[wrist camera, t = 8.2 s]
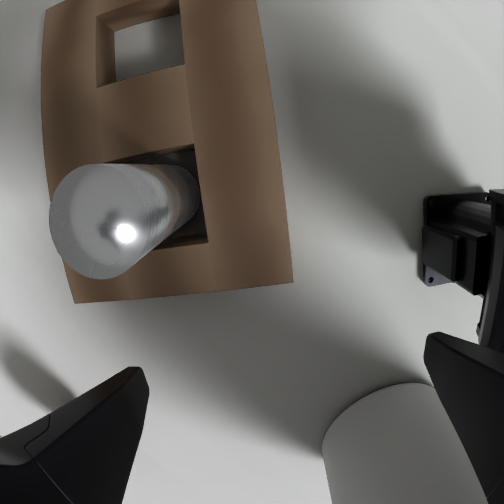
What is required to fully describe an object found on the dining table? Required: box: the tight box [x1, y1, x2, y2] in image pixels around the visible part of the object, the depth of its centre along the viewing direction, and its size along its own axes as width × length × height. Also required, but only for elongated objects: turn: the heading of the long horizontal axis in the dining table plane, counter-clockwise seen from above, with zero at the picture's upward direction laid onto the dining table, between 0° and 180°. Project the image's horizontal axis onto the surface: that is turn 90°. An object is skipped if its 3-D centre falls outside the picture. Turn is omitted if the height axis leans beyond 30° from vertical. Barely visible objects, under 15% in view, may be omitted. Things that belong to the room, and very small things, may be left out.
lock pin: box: [49, 164, 200, 279], centre depth 15 cm, size 4×4×10 cm
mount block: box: [41, 0, 293, 304], centre depth 17 cm, size 14×21×3 cm, turn 7°
